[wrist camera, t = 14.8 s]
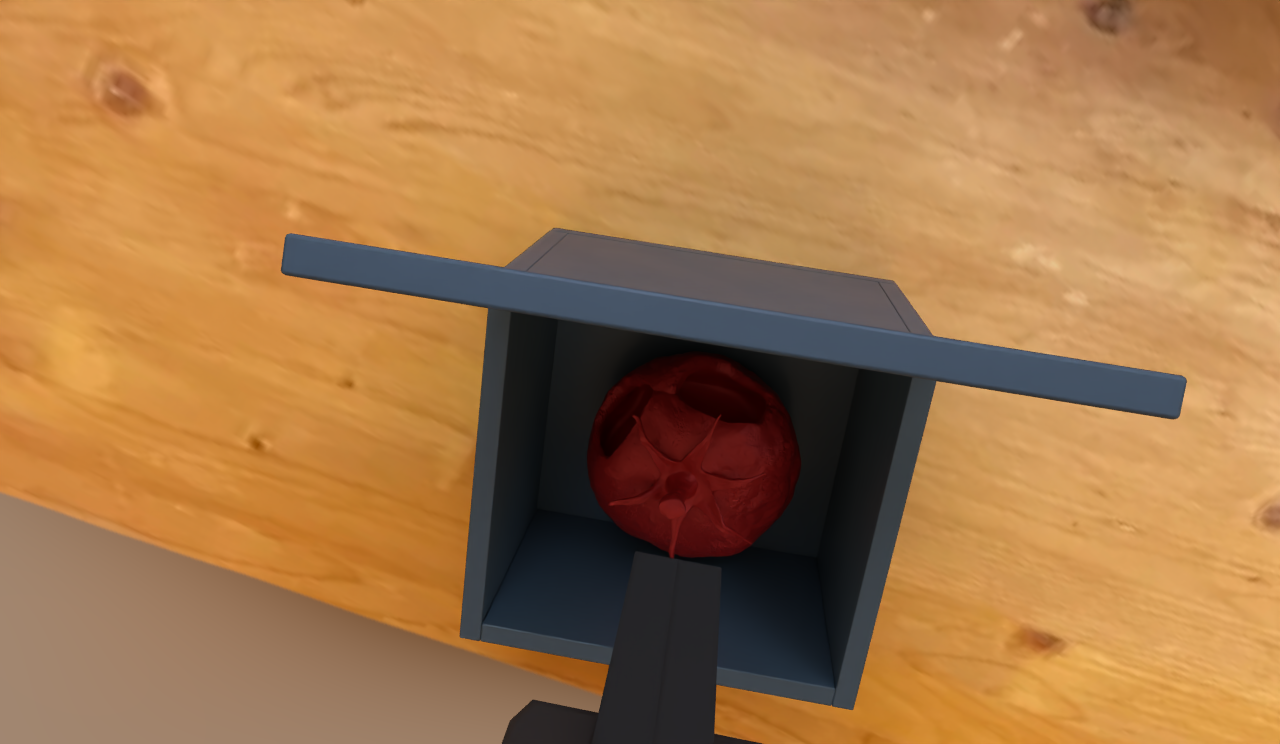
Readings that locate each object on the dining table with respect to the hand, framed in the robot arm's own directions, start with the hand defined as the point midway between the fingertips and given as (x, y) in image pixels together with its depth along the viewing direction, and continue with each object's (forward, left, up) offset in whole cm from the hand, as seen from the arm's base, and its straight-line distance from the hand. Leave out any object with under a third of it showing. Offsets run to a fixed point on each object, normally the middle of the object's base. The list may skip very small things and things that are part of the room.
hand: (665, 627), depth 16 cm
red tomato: (0, -8, -30) cm, 31 cm away
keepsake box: (0, -7, -31) cm, 32 cm away
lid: (0, +2, -11) cm, 11 cm away
